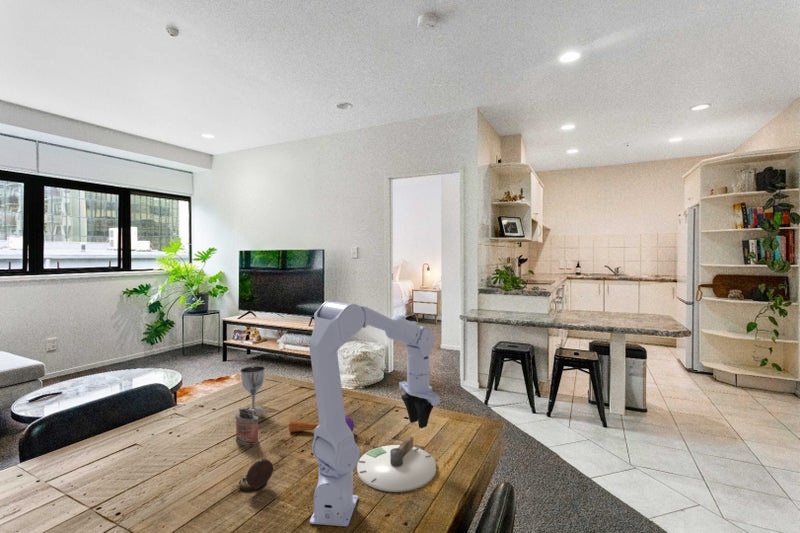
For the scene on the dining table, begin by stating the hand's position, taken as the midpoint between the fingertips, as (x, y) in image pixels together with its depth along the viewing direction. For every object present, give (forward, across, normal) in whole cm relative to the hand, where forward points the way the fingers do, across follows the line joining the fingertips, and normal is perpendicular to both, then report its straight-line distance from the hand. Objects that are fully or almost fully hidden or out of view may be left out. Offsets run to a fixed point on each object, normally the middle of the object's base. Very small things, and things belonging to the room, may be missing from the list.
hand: (418, 424), depth 100 cm
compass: (+11, +15, +38) cm, 42 cm away
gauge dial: (+10, +2, +6) cm, 12 cm away
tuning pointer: (+9, +4, +2) cm, 10 cm away
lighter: (+11, +39, +33) cm, 52 cm away
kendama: (+11, +31, +13) cm, 35 cm away
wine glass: (+11, +60, +26) cm, 66 cm away
